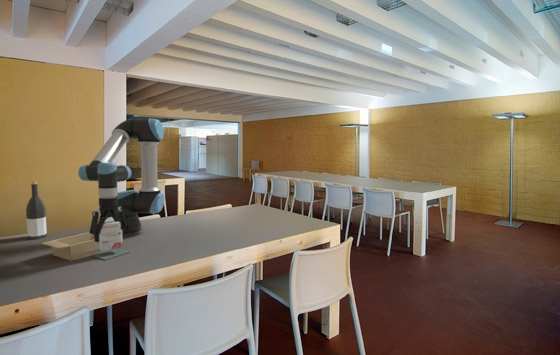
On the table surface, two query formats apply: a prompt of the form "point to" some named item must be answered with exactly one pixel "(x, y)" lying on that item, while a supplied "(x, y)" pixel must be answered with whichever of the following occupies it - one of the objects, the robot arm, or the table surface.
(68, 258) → the tan shallow open box
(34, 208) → the wine bottle
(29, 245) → the table surface
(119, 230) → the ink box
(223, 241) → the table surface
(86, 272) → the table surface
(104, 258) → the mat
